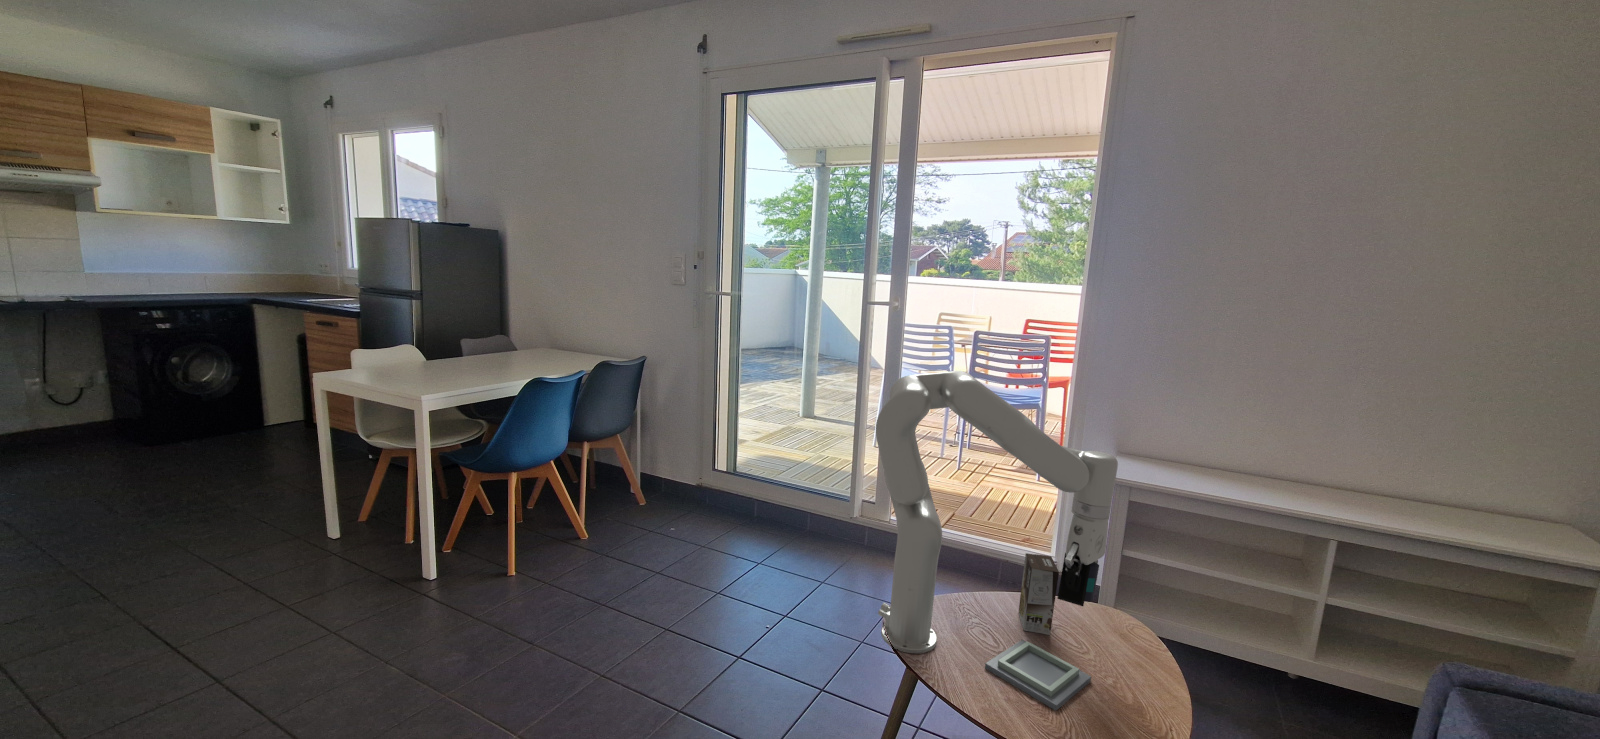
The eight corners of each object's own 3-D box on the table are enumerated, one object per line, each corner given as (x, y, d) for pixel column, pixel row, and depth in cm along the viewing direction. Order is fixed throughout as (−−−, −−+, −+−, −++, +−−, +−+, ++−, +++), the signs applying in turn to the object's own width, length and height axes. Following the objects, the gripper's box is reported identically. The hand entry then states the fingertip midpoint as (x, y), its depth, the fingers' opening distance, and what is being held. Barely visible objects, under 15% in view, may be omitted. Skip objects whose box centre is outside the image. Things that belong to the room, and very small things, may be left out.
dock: (984, 668, 133) (986, 658, 132) (1021, 644, 142) (1022, 634, 142) (1055, 710, 121) (1057, 699, 120) (1090, 681, 130) (1092, 671, 130)
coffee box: (1051, 635, 147) (1060, 572, 144) (1023, 631, 148) (1031, 568, 145) (1044, 615, 155) (1052, 555, 153) (1017, 611, 157) (1025, 551, 154)
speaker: (1082, 609, 131) (1090, 562, 130) (1056, 598, 135) (1063, 552, 135) (1097, 602, 136) (1104, 557, 136) (1071, 592, 140) (1078, 548, 140)
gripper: (1090, 523, 125) (1077, 604, 128) (1125, 506, 137) (1112, 581, 139) (1055, 510, 131) (1043, 588, 134) (1091, 495, 142) (1079, 567, 145)
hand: (1079, 584), depth 137 cm, fingers closed on speaker, 6 cm apart
